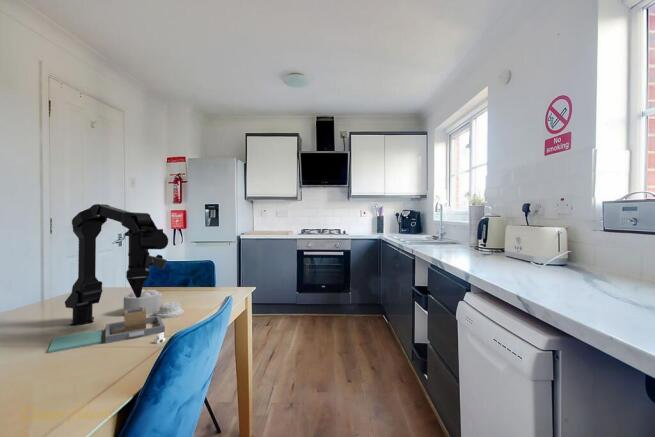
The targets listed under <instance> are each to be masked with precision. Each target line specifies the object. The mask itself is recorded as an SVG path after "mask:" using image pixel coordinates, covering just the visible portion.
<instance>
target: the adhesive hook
mask: <svg viewBox="0 0 655 437" xmlns="http://www.w3.org/2000/svg"><path fill="white" fill-rule="evenodd" d="M164 334H165V332H162V333H157V334H156V338H155V339H154V340H153V342H152V343H155V344H156V345H158V344H160V342H162V343H163V342H165V341H166V337H164Z"/></svg>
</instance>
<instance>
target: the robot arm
mask: <svg viewBox="0 0 655 437" xmlns="http://www.w3.org/2000/svg"><path fill="white" fill-rule="evenodd" d="M108 219H109V220H112V221H116V222H119V223H120V224H121V226H123V227H124V228H126V229H128V230H127V231H125V233H124V234H123V236H124V237H128V252H127V256H128V264H127V265H128V266H127V270H126V271H125V274H126V276H125V277H126V278H125V279H126V280H127V282H128V283H129V286H130V288H131V290H132V292H134V294H135V296H136V298H140V296H141V292H142V289H143V286H144V282H145V281H146V280H147V279H149V278H150V266H151V267H155V268H158V269H159V270H164V269H165V267H166V264H167V263H168V262H167V261H168V260H167V259H165V258H163V255H161V254H156V256H154V255H153V256H152V255H150V252H149V250H164V249H166V248H167V246H168V244H169V238H168V236H167V234H166V233H165V232H164V228H158V226H156V224H155V222H154V221H153V219H152V217H151V215H150V213H149V212H148V213H147V212H131V211H128V210H123V209H120V208H117V207H115V206H111V205H108V204H100V203H99V204H98V203H95V204H92V206H90V207H89V208H87V209H84V210H81V211H80V212H78V213H77V214H76V215H75V216H74V217H73V218H72V219H71V225H72V232H73V233H74V235H75V236H76V237H77V238H78V261H77V262H78V269H77V270H78V272H77V275H78V276H77V279H76V280H75V282H74V283H73V285H72V286H71V287H72V288H71V293H70V294H69V296H68V297H67V298H66V299H65V301H64V305H65V308H68V309H72V316H71V317H72V319H71V322H70V324H69V325H70V326H76V325H77V326H78V325H84V324H89V323H94V319H95V316H93V309H94V308H93V307H94V306H93V305H95V304H100V300H101V297H102V293H103V281H101V280H98V277H97V276H96V266H97V264H96V260H97V259H96V258H97V257H96V254H97V252H96V251H97V248H96V247H97V246H96V244H97V243H96V242H97V241H96V240H97V238H98V236H99V235H100V233H101V232H102V227H103V226H104V224H106V222H107V221H108Z"/></svg>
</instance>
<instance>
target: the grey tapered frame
mask: <svg viewBox="0 0 655 437" xmlns="http://www.w3.org/2000/svg"><path fill="white" fill-rule="evenodd" d="M153 323H156V324H157V326H152V327H148V328H147V327H146V329H141V330H135V331H130V332H124V331H123V332H120V333H119V332H118V333H114V334H110V333H111V332H110V331H112V330H119V329H124V320H122V321H118V322H111V323H106V324H105V339H104V340H105V344H108V343H114V342H120V341H125V340H130V339H137V338H141V337H146V336H151V335H158V334H160V333H162V332H164V333H165V330H166V329H165V328H166V327H165V324H164V322H163V320H162V318H160V316H156V315H154V316H150V317H149V316H146V325H149V324H153Z"/></svg>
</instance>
